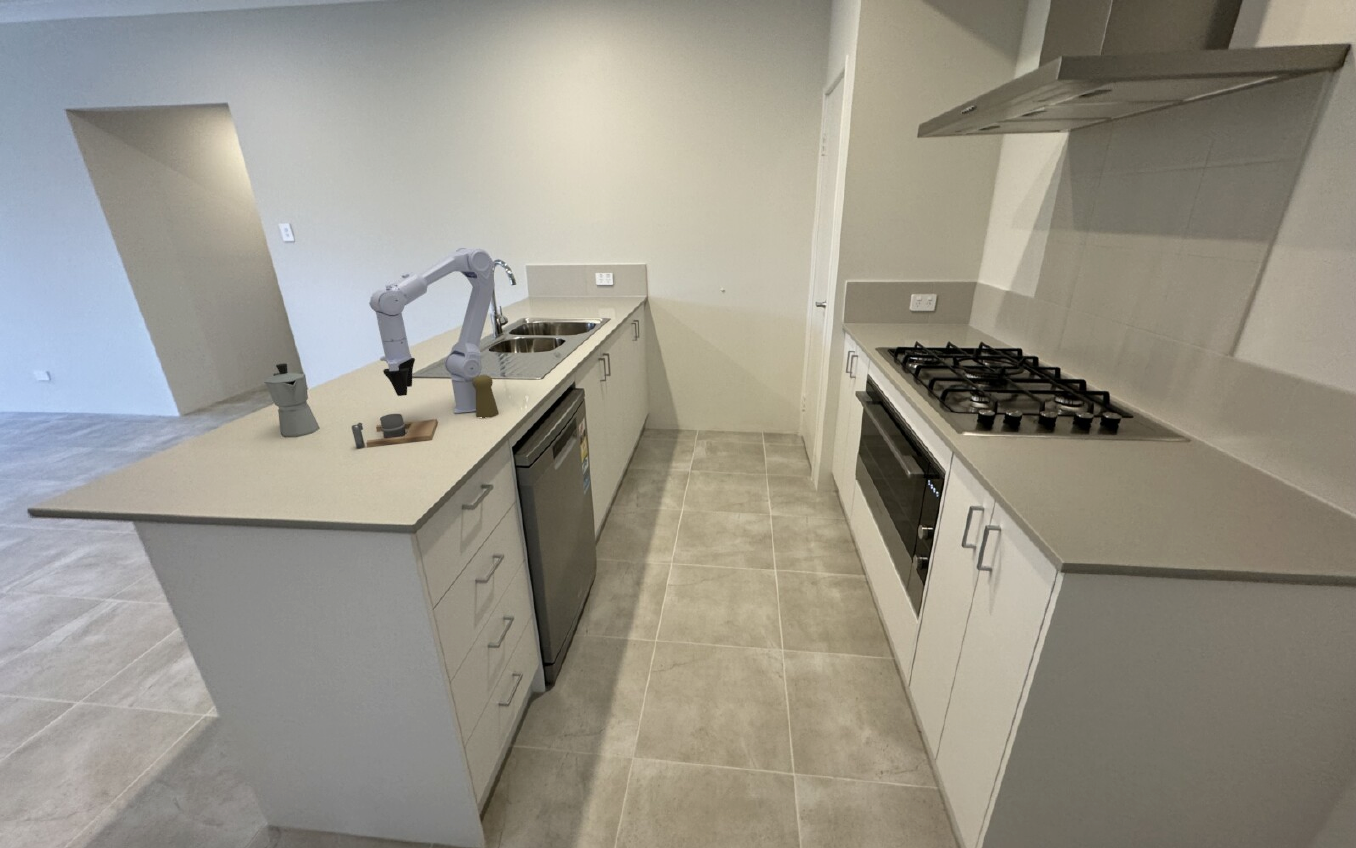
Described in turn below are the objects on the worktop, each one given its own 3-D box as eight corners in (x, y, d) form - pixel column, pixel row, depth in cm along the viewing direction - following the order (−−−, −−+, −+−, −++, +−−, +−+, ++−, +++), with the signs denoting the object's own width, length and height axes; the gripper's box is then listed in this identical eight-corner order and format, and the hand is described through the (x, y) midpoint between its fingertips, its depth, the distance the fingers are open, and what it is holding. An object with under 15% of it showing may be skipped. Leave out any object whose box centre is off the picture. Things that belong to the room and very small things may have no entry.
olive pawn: (503, 412, 154) (498, 374, 150) (488, 419, 149) (482, 380, 145) (486, 409, 156) (481, 372, 152) (471, 416, 151) (464, 377, 147)
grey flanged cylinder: (407, 430, 143) (403, 412, 141) (405, 437, 138) (401, 419, 136) (384, 433, 141) (380, 415, 139) (382, 441, 136) (378, 422, 134)
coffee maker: (327, 432, 142) (309, 364, 136) (287, 442, 136) (266, 372, 130) (309, 419, 152) (291, 355, 145) (272, 428, 146) (251, 361, 139)
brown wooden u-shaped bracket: (437, 423, 147) (437, 418, 147) (431, 439, 136) (430, 435, 136) (378, 429, 143) (377, 425, 143) (367, 447, 133) (366, 442, 132)
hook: (368, 440, 136) (363, 420, 134) (364, 448, 132) (358, 426, 130) (360, 441, 136) (355, 420, 134) (355, 449, 132) (350, 427, 130)
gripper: (382, 334, 143) (393, 384, 148) (369, 346, 130) (382, 401, 135) (412, 332, 145) (421, 381, 150) (402, 344, 132) (413, 398, 137)
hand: (405, 390), depth 143 cm, fingers open, 7 cm apart
